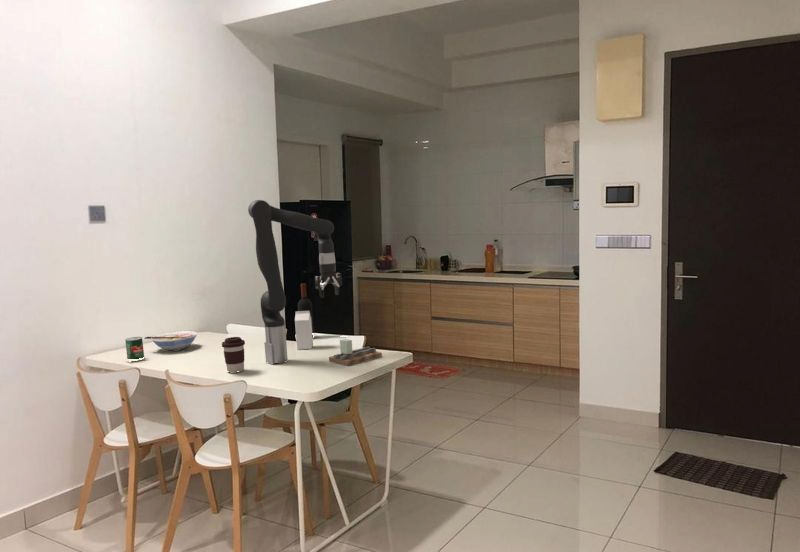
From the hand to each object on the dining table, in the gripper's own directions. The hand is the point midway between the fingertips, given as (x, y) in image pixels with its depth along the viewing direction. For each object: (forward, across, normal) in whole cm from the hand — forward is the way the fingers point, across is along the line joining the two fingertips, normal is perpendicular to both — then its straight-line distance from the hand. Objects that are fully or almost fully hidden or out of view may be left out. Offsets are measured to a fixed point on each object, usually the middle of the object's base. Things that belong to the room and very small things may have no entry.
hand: (329, 296), depth 301 cm
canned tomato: (+28, +67, -75) cm, 104 cm away
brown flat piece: (+28, 0, +17) cm, 33 cm away
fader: (+26, +5, +17) cm, 31 cm away
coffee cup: (+28, +46, -11) cm, 55 cm away
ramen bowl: (+28, +44, -81) cm, 96 cm away
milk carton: (+28, +1, -23) cm, 36 cm away
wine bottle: (+28, -13, -42) cm, 52 cm away
